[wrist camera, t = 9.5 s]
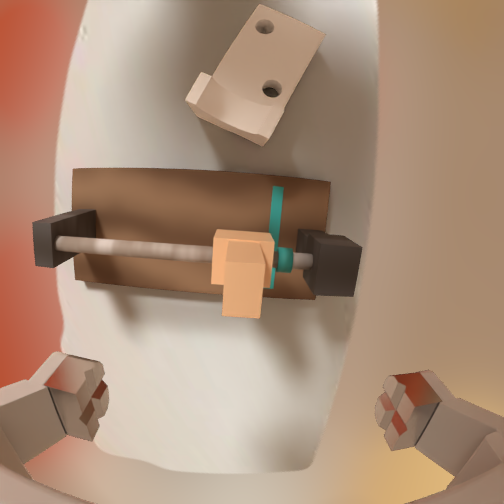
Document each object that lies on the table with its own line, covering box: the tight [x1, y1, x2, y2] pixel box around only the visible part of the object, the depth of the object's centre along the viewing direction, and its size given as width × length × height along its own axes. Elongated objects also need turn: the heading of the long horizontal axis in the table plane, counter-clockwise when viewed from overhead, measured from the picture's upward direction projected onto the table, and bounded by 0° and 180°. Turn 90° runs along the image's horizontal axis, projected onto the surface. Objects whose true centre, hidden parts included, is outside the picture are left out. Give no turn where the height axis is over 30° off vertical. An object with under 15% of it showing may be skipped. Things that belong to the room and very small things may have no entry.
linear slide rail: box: [33, 168, 362, 300], centre depth 25 cm, size 12×26×11 cm, turn 85°
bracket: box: [185, 4, 326, 147], centre depth 24 cm, size 13×7×8 cm, turn 153°
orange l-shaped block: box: [211, 229, 275, 318], centre depth 20 cm, size 3×4×8 cm
